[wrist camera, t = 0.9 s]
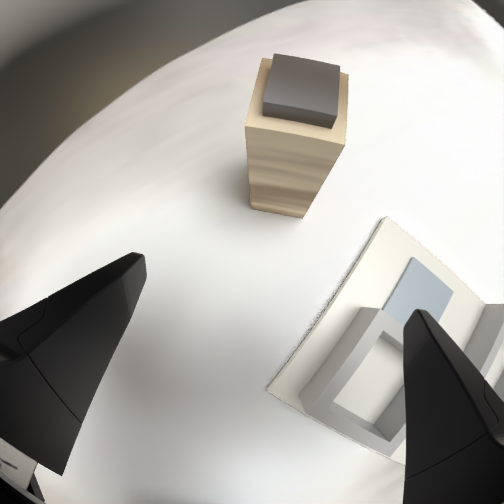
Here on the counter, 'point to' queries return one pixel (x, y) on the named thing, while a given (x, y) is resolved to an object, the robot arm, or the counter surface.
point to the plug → (294, 132)
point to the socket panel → (385, 341)
